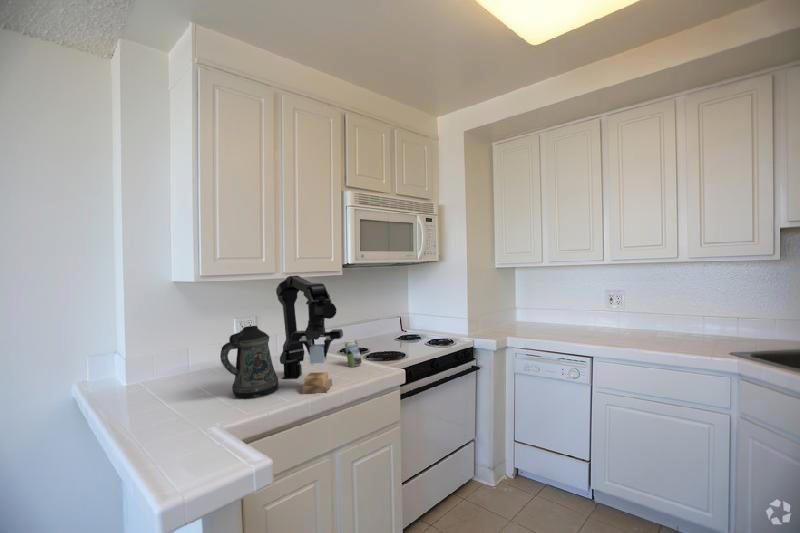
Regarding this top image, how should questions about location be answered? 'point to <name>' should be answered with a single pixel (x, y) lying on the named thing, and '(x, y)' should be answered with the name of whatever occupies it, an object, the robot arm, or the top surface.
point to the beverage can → (352, 353)
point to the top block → (316, 379)
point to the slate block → (317, 353)
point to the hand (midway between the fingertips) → (318, 357)
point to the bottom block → (317, 388)
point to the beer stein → (250, 364)
